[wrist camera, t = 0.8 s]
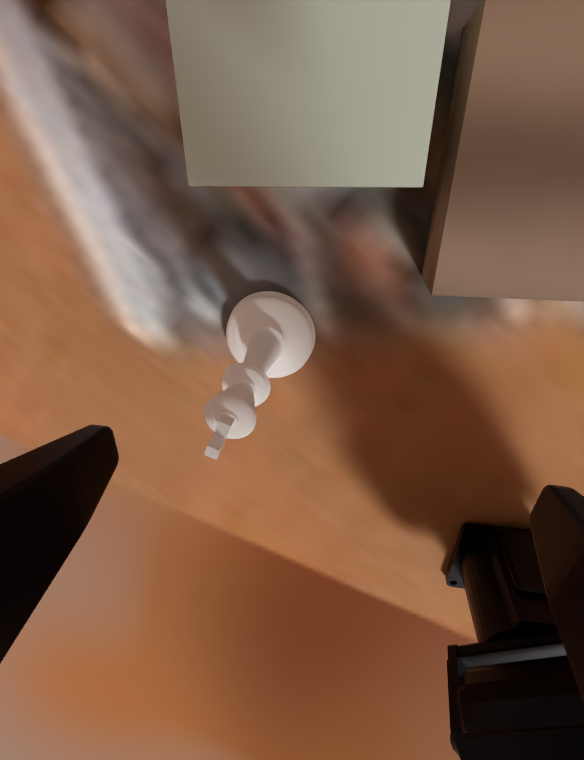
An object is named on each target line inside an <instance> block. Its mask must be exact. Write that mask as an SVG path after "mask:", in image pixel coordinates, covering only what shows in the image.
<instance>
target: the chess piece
mask: <svg viewBox="0 0 584 760" xmlns="http://www.w3.org/2000/svg"><path fill="white" fill-rule="evenodd" d="M226 338H227V343H228V346H229V349H230V351H231V353H232V355H233V356H234V358H235V359H236V360H237V361H238V363H237V364H234V365H232V366H230V367H229V368H227V369H226V371H225V372H224V374H223V377H222V389H223V391H222V392H220V393H218V394H216V395H215V396H213V397H212V398H211V399H210V400H209V401H208V402H207V404H206V406H205V409H204V416H205V420H206V422H207V424H208V426H209V427H210V428H211V429H212V430H213V431H214V435H213V436H212V438H211V440H210V442H209V444H208V446H207V448H206V451H205V453H204V455H206V456H208V457H210V458H213V459H215V460H217V457H218V455H219V453H220V451H221V449H222V447H223V444H224V442H225V440H226V438H230V439H239V438H243V437H245V436H247V435H249V434H250V433H251V432H252V431H253V429H254V428H255V425H256V420H257V416H256V408H255V406H258V405H260V404H261V403H262V402H264V401H265V400H266V399H267V397H268V396H269V393H270V381H269V379H268V377H269V378H278V377H284V376H287V375H290V374H292V373H294V372H296V371H297V370H299V369H300V368H301V367H302V366H303V365H304V364H305V363H306V361H307V360H308V358H309V357H310V355H311V353H312V351H313V349H314V345H315V338H316V334H315V327H314V324H313V321H312V319H311V317H310V315H309V313H308V312H307V310H306V309H305V308H304V307H303V306H302V305H301V304H300V303H299V302H298V301H296V300H295V299H293V298H292V297H290V296H288V295H285V294H283V293H279V292H274V291H261V292H256V293H253V294H251V295H248V296H247V297H245V298H243V299H242V300H241V301H240V302H239V303H238V304H237V305H236V306H235V307H234V309H233V311H232V312H231V315H230V317H229V320H228V323H227V328H226Z"/></svg>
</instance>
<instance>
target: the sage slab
mask: <svg viewBox="0 0 584 760" xmlns="http://www.w3.org/2000/svg"><path fill="white" fill-rule="evenodd" d="M165 1H166V9H167V17H168V25H169V33H170V41H171V49H172V57H173V65H174V73H175V81H176V89H177V97H178V105H179V113H180V121H181V129H182V137H183V145H184V153H185V161H186V170H187V178H188V186H260V187H423V183H424V177H425V170H426V163H427V156H428V150H429V143H430V136H431V130H432V123H433V116H434V110H435V103H436V96H437V89H438V83H439V76H440V69H441V63H442V56H443V49H444V42H445V36H446V29H447V22H448V16H449V9H450V2H451V0H165Z"/></svg>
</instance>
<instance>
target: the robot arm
mask: <svg viewBox="0 0 584 760" xmlns="http://www.w3.org/2000/svg"><path fill="white" fill-rule="evenodd" d="M118 460H119V455H118V450H117V446H116V442H115V438H114V434H113V431H112V429H111V428H110V427H108V426H101V425H89V426H87V427H84V428H82V429H80V430H77V431H75V432H73V433H71V434H68V435H66V436H64V437H61V438H59V439H57V440H55V441H52V442H50V443H48V444H45V445H43V446H41V447H39V448H36V449H34V450H32V451H29V452H27V453H25V454H23V455H20V456H18V457H16V458H13V459H11V460H9V461H7V462H4V463H2V464H0V663H1V662H2V660H3V658H4V657H5V655H6V654H7V652H8V650H9V649H10V647H11V646H12V644H13V643H14V641H15V639H16V638H17V636H18V635H19V633H20V631H21V630H22V628H23V627H24V625H25V624H26V622H27V620H28V619H29V617H30V615H31V614H32V612H33V611H34V609H35V608H36V606H37V605H38V603H39V601H40V600H41V598H42V597H43V595H44V593H45V592H46V590H47V589H48V587H49V586H50V584H51V582H52V581H53V579H54V578H55V576H56V574H57V573H58V571H59V570H60V568H61V567H62V565H63V563H64V562H65V560H66V558H67V557H68V555H69V554H70V552H71V551H72V549H73V547H74V546H75V544H76V543H77V541H78V539H79V538H80V536H81V535H82V533H83V531H84V530H85V528H86V526H87V524H88V522H89V521H90V519H91V517H92V515H93V513H94V511H95V509H96V507H97V505H98V503H99V501H100V499H101V497H102V495H103V493H104V491H105V489H106V487H107V485H108V483H109V481H110V479H111V477H112V475H113V473H114V471H115V469H116V467H117V464H118ZM530 527H531V530H525V529H517V528H508V527H499V526H491V525H482V524H474V523H467V524H464V525H463V526H462V527H461V530H460V533H459V536H458V540H457V543H456V546H455V549H454V552H453V555H452V558H451V561H450V564H449V568H448V571H447V574H446V583H447V585H449V586H451V587H457V588H465V591H466V595H467V600H468V604H469V608H470V612H471V616H472V620H473V624H474V628H475V632H476V636H477V640H478V643H474V644H467V645H461V646H458V645H457V644H455V645H449V646H448V660H447V672H448V692H449V711H450V729H451V732H450V741H451V745H452V748H453V750H454V751H455V752H456V753H457V754H458V755H459V756H460V759H461V760H584V496H582V495H581V494H580V493H578V492H577V491H575V490H574V489H572V488H570V487H564V486H557V485H547V486H546V487H544V488H543V490H542V492H541V494H540V496H539V498H538V500H537V502H536V504H535V506H534V508H533V510H532V512H531V515H530Z"/></svg>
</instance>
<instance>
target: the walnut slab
mask: <svg viewBox="0 0 584 760" xmlns="http://www.w3.org/2000/svg"><path fill="white" fill-rule="evenodd" d="M422 278H423V279H424V281H425V283H426V285H427V287H428V289H429V291H430V293H431V295H439V296H463V297H487V298H512V299H536V300H560V301H584V0H485V1H484V2H483V4H482V5H481V6H480V7H479V9H478V10H477V11H476V12H475V14H474V15H473V16H472V17H471V19H470V20H469V21H468V22H467V24H466V25H465V26H464V27H463V29H462V35H461V41H460V47H459V53H458V59H457V65H456V71H455V77H454V84H453V90H452V96H451V102H450V108H449V114H448V120H447V126H446V132H445V138H444V144H443V150H442V156H441V162H440V168H439V175H438V181H437V187H436V193H435V199H434V205H433V211H432V217H431V223H430V229H429V235H428V241H427V247H426V253H425V260H424V266H423V272H422Z"/></svg>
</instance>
